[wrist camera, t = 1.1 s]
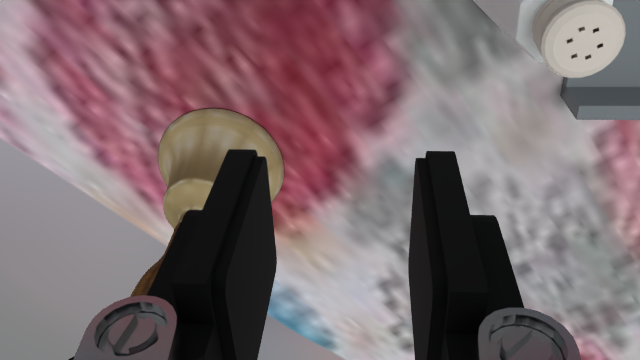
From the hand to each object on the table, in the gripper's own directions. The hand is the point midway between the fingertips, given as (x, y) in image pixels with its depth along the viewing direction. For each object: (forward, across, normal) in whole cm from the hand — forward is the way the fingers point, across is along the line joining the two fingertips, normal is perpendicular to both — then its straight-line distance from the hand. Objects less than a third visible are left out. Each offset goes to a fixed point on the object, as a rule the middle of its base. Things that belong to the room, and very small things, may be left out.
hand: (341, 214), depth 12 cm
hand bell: (+22, +9, +12) cm, 26 cm away
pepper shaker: (+21, -8, 0) cm, 23 cm away
